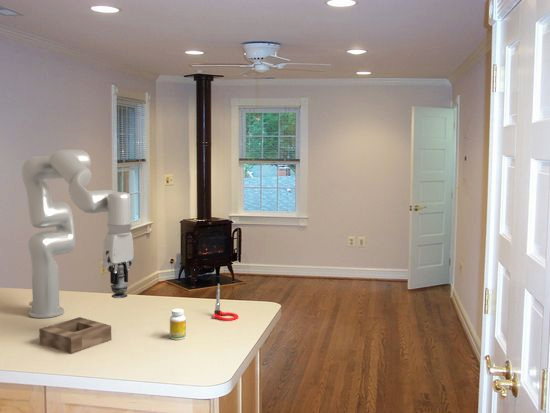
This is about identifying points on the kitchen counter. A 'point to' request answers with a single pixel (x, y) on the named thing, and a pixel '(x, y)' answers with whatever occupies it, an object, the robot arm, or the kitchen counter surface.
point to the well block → (75, 335)
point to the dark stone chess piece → (120, 284)
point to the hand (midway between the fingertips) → (119, 282)
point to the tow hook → (218, 312)
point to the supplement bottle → (177, 324)
